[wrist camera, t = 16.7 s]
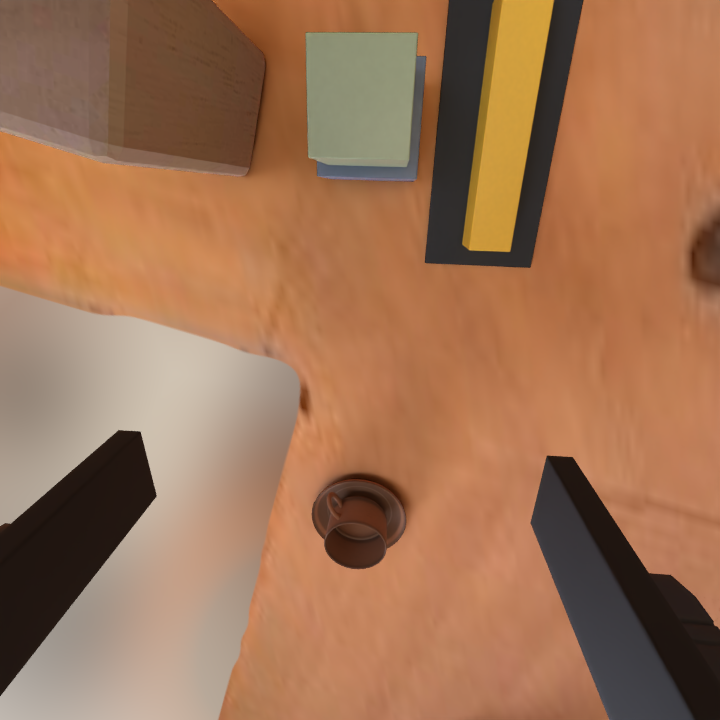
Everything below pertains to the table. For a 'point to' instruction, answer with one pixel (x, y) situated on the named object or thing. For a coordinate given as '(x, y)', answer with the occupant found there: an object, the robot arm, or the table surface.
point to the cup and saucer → (358, 522)
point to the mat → (460, 126)
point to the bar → (505, 120)
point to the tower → (364, 104)
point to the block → (131, 82)
